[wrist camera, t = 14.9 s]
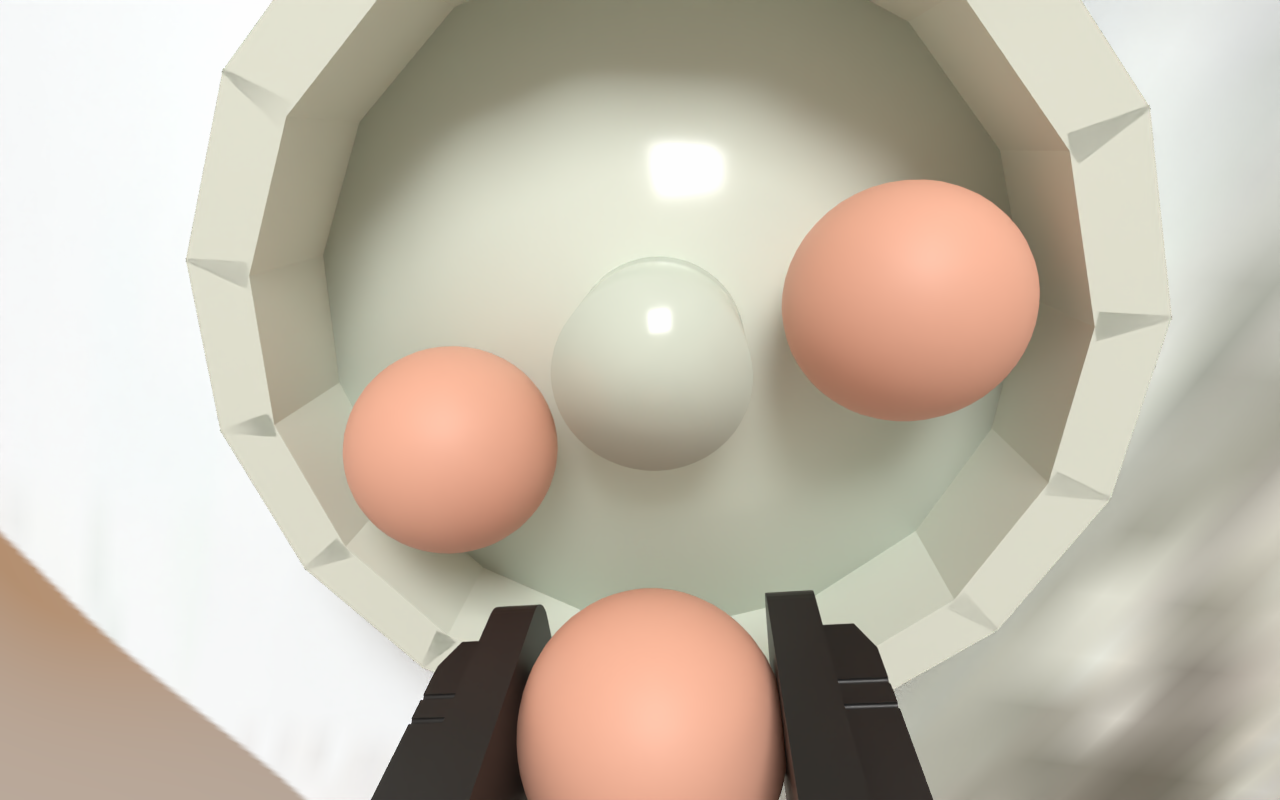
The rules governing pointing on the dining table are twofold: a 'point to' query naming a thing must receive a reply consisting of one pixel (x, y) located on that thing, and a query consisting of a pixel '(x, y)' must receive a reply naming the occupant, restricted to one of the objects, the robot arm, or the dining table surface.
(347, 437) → the bead
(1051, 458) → the ring tray
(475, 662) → the robot arm
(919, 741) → the dining table surface
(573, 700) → the peach orange ball
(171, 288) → the dining table surface
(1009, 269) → the salmon orange ball
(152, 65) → the dining table surface
